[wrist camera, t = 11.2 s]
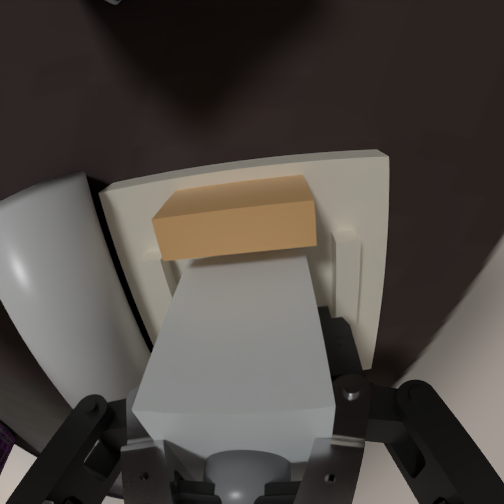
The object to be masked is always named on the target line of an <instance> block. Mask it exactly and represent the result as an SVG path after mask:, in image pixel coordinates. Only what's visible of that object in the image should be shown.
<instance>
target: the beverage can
mask: <svg viewBox="0 0 504 504" xmlns="http://www.w3.org/2000/svg"><path fill="white" fill-rule="evenodd" d="M15 441H16V440H15V438H14V436H13V435H12V433H11V431H10V430H9V429H8V428H7V427H6V426H5V425H4V424H3V423H2V422H0V474H1V472H2V470H3V467H4V465H5V463H6V461H7V458H8V456H9V454H10V452H11V450H12V447H13V445H14V443H15Z"/></svg>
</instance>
